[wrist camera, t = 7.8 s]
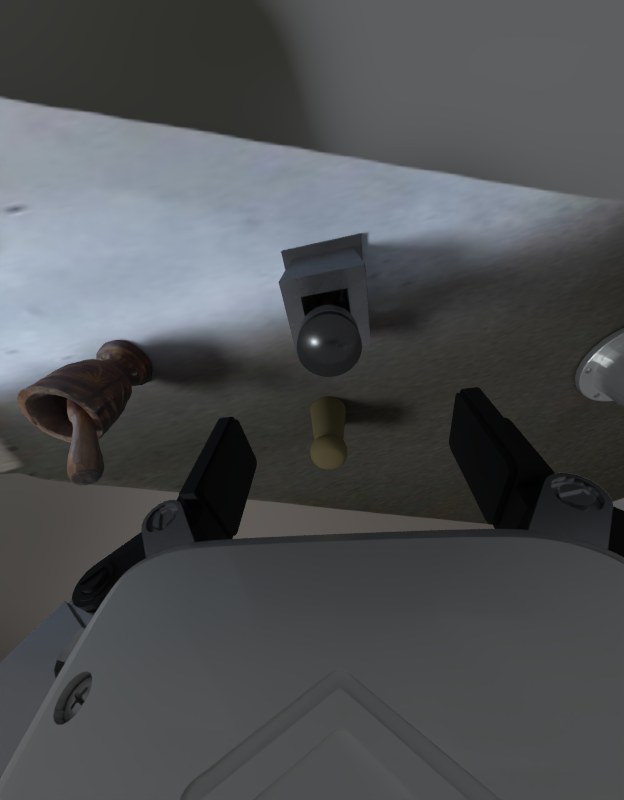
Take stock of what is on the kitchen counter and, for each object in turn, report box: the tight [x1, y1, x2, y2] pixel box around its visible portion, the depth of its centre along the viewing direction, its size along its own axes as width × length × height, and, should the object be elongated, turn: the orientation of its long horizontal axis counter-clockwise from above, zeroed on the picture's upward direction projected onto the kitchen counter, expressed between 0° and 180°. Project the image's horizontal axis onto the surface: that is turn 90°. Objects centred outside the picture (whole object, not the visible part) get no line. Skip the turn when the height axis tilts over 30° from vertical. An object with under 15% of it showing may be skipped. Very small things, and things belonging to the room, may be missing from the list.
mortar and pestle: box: [17, 341, 152, 485], centre depth 33 cm, size 12×9×20 cm
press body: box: [279, 234, 371, 358], centre depth 29 cm, size 9×11×12 cm
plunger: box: [297, 289, 362, 377], centre depth 24 cm, size 4×4×15 cm
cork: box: [310, 396, 347, 469], centre depth 40 cm, size 6×6×11 cm
